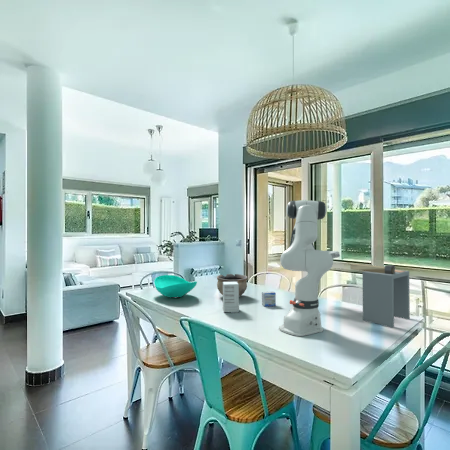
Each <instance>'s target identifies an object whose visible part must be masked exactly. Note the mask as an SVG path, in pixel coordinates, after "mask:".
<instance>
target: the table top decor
mask: <svg viewBox="0 0 450 450" xmlns="http://www.w3.org/2000/svg"><path fill="white" fill-rule="evenodd" d="M153 283H154V286H155V287H154V288H155V290H156V291H157V292H158V293H160V294H161V295H162V296H164V297H168V298H171V297H180V298H182V297H183V296H185V295H186V294H188V293H190V292H191V291H192V290H193V289H194V288H195V287H196V286H197V283H198V281H188V280H186V279H184V278H183V277H180V276H178V275H174V274H165V275H159V276H157V277H155V279H154V282H153Z"/></svg>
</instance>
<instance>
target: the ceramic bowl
mask: <svg viewBox="0 0 450 450" xmlns="http://www.w3.org/2000/svg"><path fill="white" fill-rule="evenodd" d="M216 280H217V283H216V286H217V290H218V292H219V293H220V294H221V295H222V296H223V282H237V283H238V284H239V297H242V295H244V294H245V292H246V291H247V289H248V283H247V282H248V281H247V280H248V276H247V275H243V274H239V273H234V274H233V273H227V274H225V275H223V274H220V275H219V274H218V275H217V276H216Z"/></svg>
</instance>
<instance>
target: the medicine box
mask: <svg viewBox="0 0 450 450" xmlns="http://www.w3.org/2000/svg"><path fill="white" fill-rule="evenodd" d="M276 293H277V292H275V291H262V292H261V306H263V307H265V308H270V307H276V305H277V304H276V303H277V301H276V297H277V295H276Z"/></svg>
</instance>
